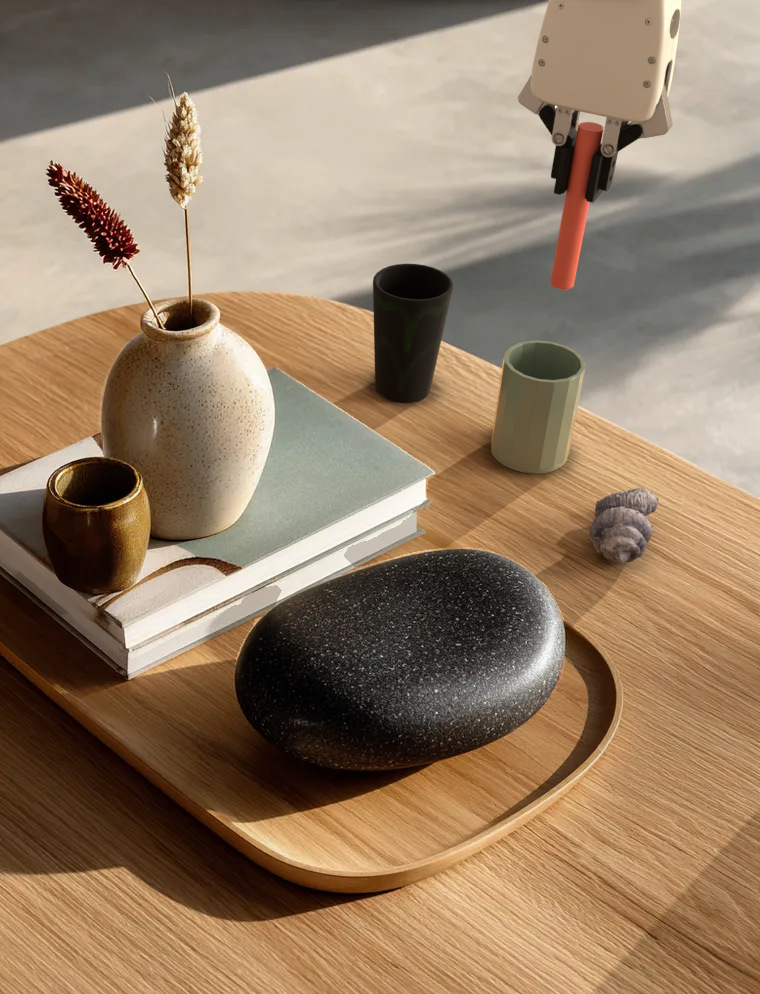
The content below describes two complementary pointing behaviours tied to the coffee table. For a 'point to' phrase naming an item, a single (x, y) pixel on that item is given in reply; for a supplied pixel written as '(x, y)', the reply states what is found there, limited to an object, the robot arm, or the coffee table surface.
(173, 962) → the coffee table surface
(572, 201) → the rod
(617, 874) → the coffee table surface
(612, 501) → the seashell
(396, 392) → the cup
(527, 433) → the tumbler
